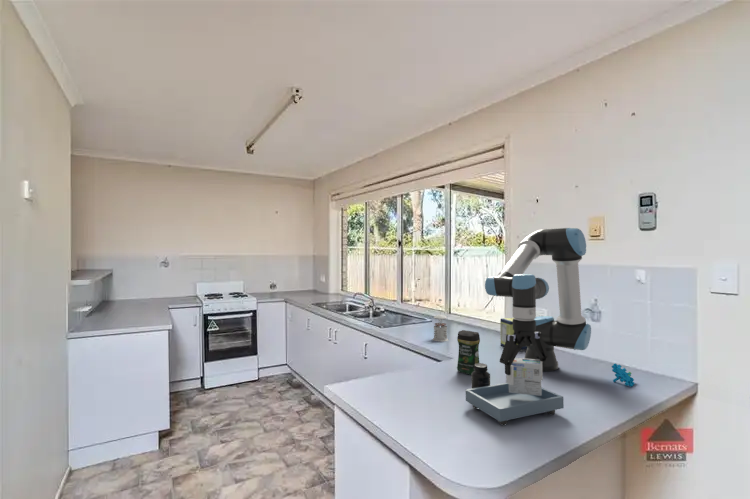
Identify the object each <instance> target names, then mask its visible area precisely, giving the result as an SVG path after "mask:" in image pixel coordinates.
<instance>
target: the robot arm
mask: <svg viewBox="0 0 750 499" xmlns="http://www.w3.org/2000/svg"><path fill="white" fill-rule="evenodd" d="M586 253H587V241H586V237H585V235H584V233H583V231H582V230H581V229H580V228H576V227H575V228H574V227H561V228H544V229H543V228H542V229H538V230H536V231H534V232H532V233H530V234H529V235H527V236H526V237H524V238H523V239H522V240H521V241H520V243H519V244H518V246H517V250H516V251H515V252H514V253H513V255H512V256H511V258H510V259H509V260H508V262H507V263H506V264H505V265H504V267H503V268H502V269H501V271H500V272H499V273H498V274H497V275H496V276H495V275H492V276H488V277H487V278H486V279H485V282H484V290H485V292H486V294H488V295H489V296H494V297H504V298H505V297H506V298H512V318H514V319H513V330H514V334H513V335H508V334H507V335H506V342H505V345H504V347H503V350H502V352H501V354H500V359H499V364H500V363H501V364H503V365H504V373H505V374H504V375H506V376H505V377H506V378H505V379H506V380H505V383H508V384H510V385H514V366H513V365H512V363H513V361H514V359H515V358H517V355H518V354H519V351H520V350H522V349H521V348H522V347H525V346H527V349H526V350H525V351H526V352H525V354H524V358H525V359H540V363H541V381H543V372H552V371H553V372H555V371H557V370H558V369H559V362H558V360H557V357H556V353H555V347H557V348H563V349H569V350H573V351H575V350H577V351H585V350H586V349H587V348H588V347H589V344H590V341H591V336H592V326H591V325H590V324H589V323H587V322H586V321H587V320H586V318H585V317H584V316H583V315H582V305H581V304H582V302H581V288H580V287H581V286H580V285H581V284H580V274H579V273H580V271H579V263H580V262H581V261H582V259H583V256H585V255H586ZM540 256H551V260H552V261H553V262H554V263H555V265H556V278H557V279H556V280H557V293H558V308H559V316H557V317H556V320H555V318H554V316H549V315H546V316H545V315H543V316H540V315H539V316H536V315H537V314H536V313H537V312H536V311H537V310H536V309H537V307H536V306H537V301H536V300H540V299H543V298H544V297H546V296H547V295H548V293H549V289H550V286H549V283H548V282H547V281H546V280H545V279H544V278H541V277H536V276H535V274H531V273H525V271H527V269H528V268H529V266H530V265H531V264H532V262H533V260H536V259H538V257H540ZM516 344H518V345H516ZM508 361H509V362H508Z"/></svg>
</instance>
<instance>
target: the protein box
mask: <svg viewBox="0 0 750 499" xmlns="http://www.w3.org/2000/svg"><path fill="white" fill-rule="evenodd" d="M513 319H514V318H513V317H509V318H508V317H507V318H500V320H499V321H500V324H499V326H500V346H501V347H503V348H504V345H505V342H506V335H507V334H508V335H513V334H514V330H513ZM516 345H518V344H516ZM525 349H526V350H527V346H525V347H522V348H521V349H520V350H525Z"/></svg>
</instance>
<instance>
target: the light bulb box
mask: <svg viewBox="0 0 750 499" xmlns="http://www.w3.org/2000/svg"><path fill="white" fill-rule="evenodd" d="M508 362H509V361H508ZM512 365H513V366H514V385H510V384H508V385H509V393H519V394H528V395H537V396H542V389H541V387H542V380H541V363H540V359H525V357H515V359H514V361H513V363H512Z"/></svg>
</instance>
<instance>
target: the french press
mask: <svg viewBox="0 0 750 499" xmlns="http://www.w3.org/2000/svg"><path fill="white" fill-rule="evenodd" d="M442 301H443V300H442V299H440V298H439V299H438V302H442ZM433 319H436V320H438V322H435V323H434V326H433V338H432V341H434V342H440V343H441V342H442V343H443V342H449V339H448V328H447V327H448V326H447V323H445V322H443V320H447V319H448V317H447V316H446V315H444V314H441V313H439V314H436V315H434V316H433Z"/></svg>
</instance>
